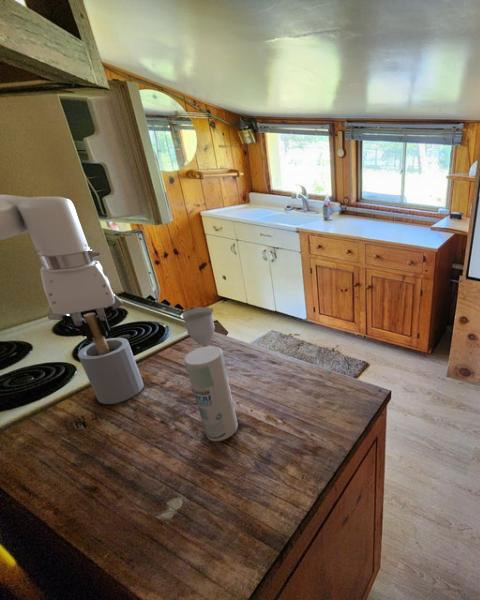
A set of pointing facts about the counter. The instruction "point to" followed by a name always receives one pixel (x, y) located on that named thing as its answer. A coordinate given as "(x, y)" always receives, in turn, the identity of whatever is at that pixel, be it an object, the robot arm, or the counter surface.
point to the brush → (96, 333)
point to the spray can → (212, 391)
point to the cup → (112, 371)
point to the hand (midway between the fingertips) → (97, 335)
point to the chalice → (199, 324)
